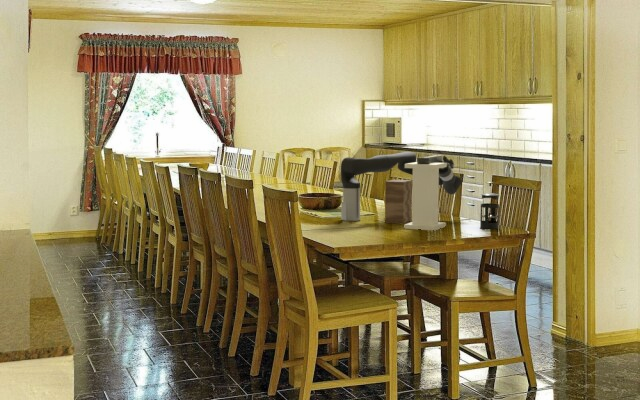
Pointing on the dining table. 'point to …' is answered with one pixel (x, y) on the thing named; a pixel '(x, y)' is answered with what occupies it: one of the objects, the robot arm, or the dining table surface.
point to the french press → (493, 223)
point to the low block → (398, 201)
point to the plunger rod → (429, 159)
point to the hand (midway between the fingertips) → (435, 157)
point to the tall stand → (425, 196)
